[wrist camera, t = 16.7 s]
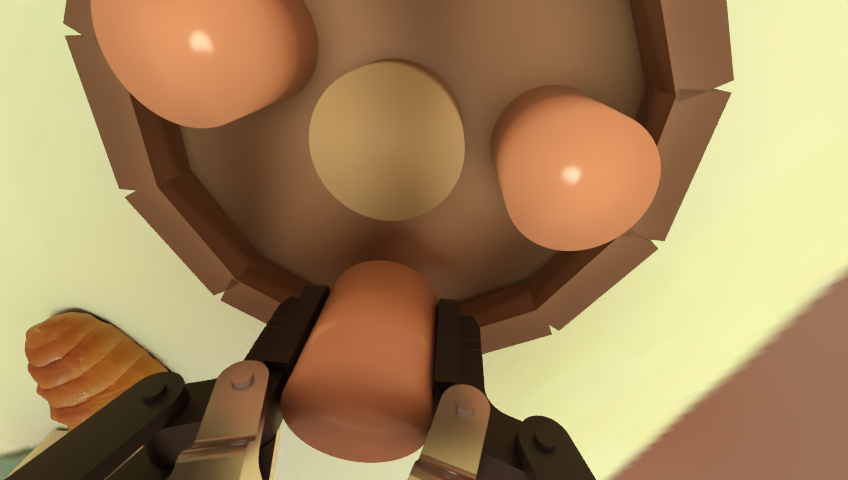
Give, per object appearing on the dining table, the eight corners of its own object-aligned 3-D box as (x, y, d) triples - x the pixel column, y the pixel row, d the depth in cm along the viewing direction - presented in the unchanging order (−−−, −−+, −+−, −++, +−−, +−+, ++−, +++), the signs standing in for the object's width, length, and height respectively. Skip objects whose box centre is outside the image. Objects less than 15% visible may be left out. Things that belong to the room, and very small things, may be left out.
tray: (208, 297, 20) (165, 345, 17) (53, -277, 10) (-115, -404, 7) (581, 335, 20) (604, 391, 17) (794, -229, 10) (947, -344, 7)
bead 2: (333, 340, 15) (289, 453, 11) (327, 254, 13) (270, 355, 9) (434, 351, 15) (426, 470, 11) (444, 266, 13) (439, 374, 9)
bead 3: (483, 187, 15) (493, 244, 11) (500, 80, 13) (520, 103, 9) (583, 196, 15) (630, 257, 11) (616, 89, 13) (686, 116, 9)
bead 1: (216, 95, 14) (123, 121, 10) (190, -38, 12) (62, -69, 8) (322, 104, 14) (270, 134, 10) (314, -28, 12) (245, -55, 8)
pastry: (24, 317, 22) (-51, 367, 19) (112, 293, 21) (49, 343, 18) (128, 416, 27) (81, 471, 23) (207, 401, 25) (170, 458, 22)
